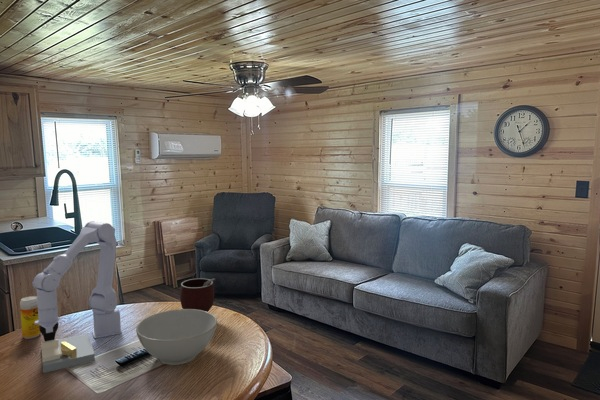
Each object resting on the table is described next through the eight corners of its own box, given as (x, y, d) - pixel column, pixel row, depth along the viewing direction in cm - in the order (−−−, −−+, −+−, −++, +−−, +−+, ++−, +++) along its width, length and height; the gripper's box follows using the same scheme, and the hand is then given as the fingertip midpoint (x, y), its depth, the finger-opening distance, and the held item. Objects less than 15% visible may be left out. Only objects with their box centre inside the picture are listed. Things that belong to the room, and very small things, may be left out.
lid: (58, 348, 145) (58, 338, 145) (60, 358, 138) (59, 348, 138) (41, 351, 142) (41, 342, 142) (42, 362, 135) (41, 352, 135)
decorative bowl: (119, 367, 138) (117, 332, 136) (172, 334, 163) (171, 304, 161) (186, 384, 128) (185, 346, 127) (231, 346, 153) (231, 315, 151)
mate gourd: (173, 326, 170) (172, 278, 168) (193, 314, 183) (192, 270, 181) (206, 332, 165) (205, 283, 163) (224, 319, 178) (223, 273, 176)
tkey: (77, 360, 137) (76, 347, 136) (71, 362, 135) (71, 349, 135) (66, 352, 142) (65, 340, 141) (60, 354, 140) (59, 342, 140)
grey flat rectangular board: (88, 339, 158) (88, 333, 157) (94, 360, 142) (94, 353, 142) (41, 349, 150) (41, 342, 149) (43, 373, 134) (42, 365, 134)
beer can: (32, 340, 157) (29, 301, 155) (18, 338, 158) (15, 300, 156) (44, 333, 163) (42, 296, 161) (31, 331, 164) (29, 295, 162)
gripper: (33, 303, 147) (36, 339, 149) (34, 316, 135) (36, 356, 136) (56, 299, 151) (58, 335, 152) (59, 312, 139) (61, 351, 140)
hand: (50, 345), depth 145 cm, fingers closed
